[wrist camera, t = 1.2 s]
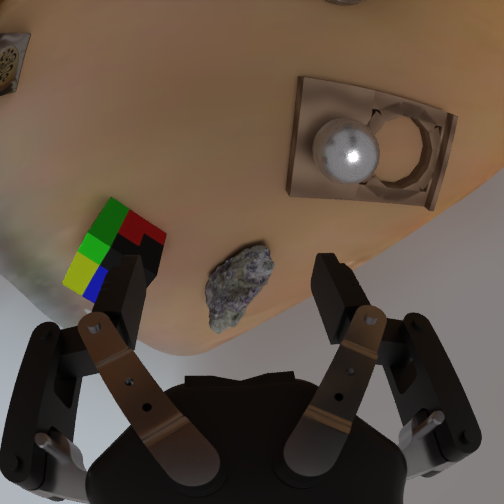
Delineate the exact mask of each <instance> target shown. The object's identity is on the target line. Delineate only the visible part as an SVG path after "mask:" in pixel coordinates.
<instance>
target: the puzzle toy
mask: <svg viewBox="0 0 504 504" xmlns="http://www.w3.org/2000/svg"><path fill="white" fill-rule="evenodd" d="M165 238H166V233H165V232H163V231H162V230H160V229H159V228H157V227H156V226H154V225H153V224H151V223H150V222H148V221H147V220H145V219H144V218H142V217H141V216H139V215H138V214H136V213H135V212H133V211H132V210H130V209H129V208H127V207H126V206H124V205H123V204H121V203H120V202H118V201H117V200H115V199H114V198H112V197H111V198H110V200H109V201H108V202H107V204H106V205H105V207H104V208H103V210H102V211H101V213H100V214H99V216H98V217H97V219H96V220H95V222H94V223H93V225H92V226H91V228H90V229H89V231H88V233H87V234H86V236H85V238H84V240H83V242H82V244H81V246H80V248H79V250H78V252H77V254H76V256H75V258H74V260H73V262H72V264H71V266H70V268H69V270H68V272H67V274H66V276H65V278H64V280H63V283H62V284H63V285H65V286H66V287H68V288H70V289H71V290H73V291H74V292H76V293H78V294H79V295H81V296H83V297H84V298H86V299H88V300H90V301H91V302H93V303H95V301H96V299H97V296H98V293H99V291H100V290H101V286H102V283H103V281H104V278H105V276H106V273H107V272H108V271H109V270H110V269H111V268H112V267H113V266H120V263H121V261H122V258H123V256H124V255H140V256H141V259H142V264H143V269H144V274H145V279H146V288H147V287H148V286H149V285H150V283H151V282H152V281H153V280H154V278H155V277H156V276H157V273H158V268H159V264H160V259H161V255H162V251H163V247H164V242H165Z"/></svg>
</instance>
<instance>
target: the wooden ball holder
mask: <svg viewBox="0 0 504 504" xmlns="http://www.w3.org/2000/svg"><path fill="white" fill-rule="evenodd" d="M401 115H403V116H407V117H410V118H411V119H412V120H413V121H414V123H415V124H416V125H417V126H418V127H419V128H420V132H421V136H422V141H423V149H422V154H421V158H420V162H419V164H418V165H417V166H416V168H415V169H414V170H413V171H412V173H411V174H410V175H409V176H408V177H406V178H403V179H401V180H399V181H397V182H395V183H393V182H384V181H379V180H378V179H377V178H376V177H375V176H374V173H372V175H371V176H370V177H368V178H367V179H366V180H364V181H362V182H360V183H357V184H353V185H343V184H338V183H335V182H333V181H331V180H329V179H328V178H326V177H325V176H324V175H323V174H322V173H321V172H320V170H319V169H318V167H317V166H316V164H315V161H314V158H313V151H312V149H313V141H314V138H315V136H316V134H317V132H318V131H319V130H320V128H321V127H322V126H323V125H325V124H326V123H328V122H329V121H332V120H334V119H338V118H351V119H355V120H357V121H360V122H361V123H363V124H365V125H366V126H367V127H368V128H369V129H370V130H371V131H372V132H373V133H374V135H375V134H376V133H377V132H378V131H379V129H380V128H381V127H382V125H383V124H384V123H385V122H386V121H389V120H391V119H394V118H396V117H399V116H401ZM457 119H458V116H456V115H453V114H450V113H448V112H445V111H442V110H439V109H436V108H433V107H430V106H427V105H424V104H421V103H418V102H415V101H412V100H408V99H405V98H401V97H398V96H394V95H391V94H387V93H383V92H379V91H375V90H371V89H366V88H362V87H357V86H352V85H348V84H342V83H337V82H332V81H326V80H320V79H313V78H306V77H299V78H298V87H297V97H296V107H295V116H294V125H293V134H292V143H291V151H290V160H289V168H288V176H287V184H286V191H287V193H288V195H289V197H300V198H322V199H340V200H355V201H369V202H382V203H394V204H405V205H415V206H424V207H425V208H427V209H428V210H429V211H434V208H435V205H436V202H437V198H438V195H439V192H440V189H441V185H442V182H443V178H444V175H445V171H446V167H447V163H448V160H449V156H450V151H451V147H452V143H453V139H454V134H455V129H456V124H457Z"/></svg>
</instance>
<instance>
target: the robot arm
mask: <svg viewBox="0 0 504 504" xmlns="http://www.w3.org/2000/svg"><path fill="white" fill-rule="evenodd" d="M326 1H328V2H331V3H334V4H338V5H352V4H356V3H359V2H362V1H365V0H326ZM311 291H312V294H313V296H314V299H315V302H316V305H317V307H318V310H319V313H320V316H321V318H322V321H323V324H324V327H325V330H326V332H327V335H328V338H329V341H330V343H331V345H332V344H340V346H339V349H338V350H337V352H336V354H335V356H334V359H333V361H332V363H331V364H330V366H329V369H328V370H327V372H326V374H325V376H324V378H323V380H322V382H321V384H320V386H319V387H318V386H317V385H315V384H313V383H311V382H307V381H305V380H301V379H295V376H294V372H293V371H288V372H277V373H267V374H263V375H260V376H256V377H253V378H249V379H246V380H242V381H238V380H232V379H226V378H221V377H216V376H185V383H184V384H180V385H177V386H174V387H172V388H170V389H168V390H166V391H164V392H163V390H162V389H161V388H160V387H159V385H158V384H157V383H156V381H155V380H154V379H153V377H152V376H151V375H150V373H149V372H148V371H147V369H146V368H145V366H144V365H143V364H142V362H141V361H140V360H139V358H138V357H137V355H136V354H135V352H134V351H133V350H135V345H136V340H137V335H138V329H139V325H140V320H141V315H142V310H143V306H144V301H145V297H146V279H145V274H144V269H143V264H142V259H141V256H140V255H124V256H123V258H122V261H121V263H120V266H113V267H112V268H111V269H110V270H109V271H108V272H107V273H106V276H105V278H104V281H103V283H102V286H101V290H100V291H99V293H98V296H97V299H96V301H95V304H94V307H93V309H92V312H91V313H89V314H87V315H85V316H84V317H83V318H82V319H81V320H80V321H79V323H78V326H75V327H71V328H66V329H62V330H60V328H59V326H58V325H57V324H56V323H54V322H44V323H42V324H40V325H39V326H37V327H36V328H35V329H34V331H33V332H32V335H31V337H30V340H29V343H28V346H27V349H26V352H25V354H24V358H23V361H22V363H21V366H20V370H19V373H18V376H17V380H16V383H15V386H14V390H13V393H12V397H11V401H10V405H9V409H8V413H7V418H6V422H5V427H4V432H3V437H2V443H1V448H0V470H1V472H2V474H3V475H4V477H5V478H7V479H8V480H9V481H11V482H13V483H15V484H17V485H19V486H20V487H22V488H23V489H25V490H27V491H29V492H32V493H34V494H36V495H38V496H41V497H44V498H48V499H50V500H53V501H63V500H64V499H67V500H72V501H76V502H81V503H87V504H403V492H404V486H405V482H406V480H409V479H412V478H414V477H417V476H420V475H421V476H423V477H432V476H434V475H436V474H438V473H440V472H441V471H443V470H445V469H447V468H449V467H450V466H452V465H453V464H455V463H457V462H459V461H460V460H462V459H464V458H465V457H466V456H468V455H470V454H471V453H473V452H474V451H476V450H477V449H478V448H479V446H480V444H481V440H482V435H481V431H480V428H479V425H478V423H477V420H476V418H475V415H474V413H473V410H472V408H471V406H470V403H469V401H468V399H467V396H466V394H465V392H464V389H463V387H462V385H461V383H460V381H459V378H458V376H457V374H456V372H455V370H454V368H453V366H452V364H451V362H450V360H449V358H448V356H447V354H446V352H445V350H444V348H443V346H442V344H441V342H440V340H439V338H438V336H437V334H436V332H435V331H434V329H433V327H432V325H431V323H430V322H429V320H428V319H427V318H426V317H425V316H423V315H421V314H419V313H409V314H407V315H406V316H405V317H404V319H403V321H402V320H396V319H389V318H386V315H385V314H384V312H383V311H382V310H380V309H379V308H377V307H375V306H372V305H371V304H370V302H369V301H368V299H367V297H366V295H365V293H364V291H363V289H362V288H361V286H360V285H359V282H358V280H357V279H356V277H355V275H354V273H353V271H352V270H351V269H350V268H349V267H348V266H347V265H345V264H344V263H339V261H338V259H337V257H336V256H335V254H334V253H318V254H317V256H316V259H315V264H314V268H313V273H312V277H311ZM375 364H377V365H383V368H384V371H385V374H386V376H387V379H388V382H389V385H390V388H391V391H392V394H393V397H394V400H395V403H396V406H397V409H398V412H399V415H400V418H401V421H402V424H403V428H402V429H401V431H400V433H399V445H398V446H399V447H398V446H397V445H396V444H395V443H393V442H392V441H391V440H389V439H388V438H387V437H385V436H384V435H382V434H381V433H380V432H378V431H377V430H376V429H374V428H373V427H371V426H370V425H368V424H367V423H366V422H365V421H363V420H362V419H360V418H359V417H358V416H357V415H356V413H357V411H358V408H359V406H360V403H361V401H362V398H363V396H364V393H365V391H366V388H367V386H368V383H369V380H370V378H371V375H372V372H373V369H374V367H375ZM97 373H100V375H101V377H102V379H103V381H104V382H105V384H106V386H107V387H108V389H109V391H110V393H111V394H112V396H113V398H114V399H115V401H116V402H117V404H118V406H119V407H120V409H121V410H122V412H123V414H124V415H125V417H126V418H127V419H128V421H129V423H130V424H131V425H130V426H129V427H128V428H127V429H126V430H125V431H124V432H123V433H122V434H121V435H120V436H119V437H118V438H117V439H116V440H115V441H114V442H113V443H112V444H111V446H110V447H108V448H107V449H106V450H105V451H104V452H103V453H102V454H101V455H100V457H98V458H97V459H96V460H95V461H94V462H93V463H92V465H91V466H90V468H89V470H88V472H87V471H86V469H85V467H84V464H83V457H82V454H81V451H80V450H79V448H78V447H77V446H75V445H74V444H73V436H74V428H75V420H76V413H77V407H78V400H79V394H80V388H81V382H82V377H83V376H88V375H92V374H97Z"/></svg>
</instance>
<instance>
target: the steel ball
mask: <svg viewBox="0 0 504 504" xmlns="http://www.w3.org/2000/svg"><path fill="white" fill-rule="evenodd" d="M312 151H313V158H314V161H315V164H316V166H317V167H318V169H319V170H320V172H321V173H322V174H323V175H324V176H325V177H326V178H328V179H329V180H331V181H333V182H335V183H338V184H343V185H353V184H357V183H360V182H362V181H364V180H366V179H367V178H368V177H370V176H371V175H372V173H373V172H374V171H375V169H376V167H377V165H378V162H379V157H380V150H379V144H378V141H377V139H376V137H375V135H374V133H373V132H372V131H371V130H370V129H369V128H368V127H367V126H366V125H365V124H363V123H361V122H360V121H357V120H355V119H351V118H338V119H334V120H332V121H329V122H328V123H326V124H325V125H323V126H322V127H321V128H320V130H319V131H318V132H317V134H316V136H315V138H314V141H313V149H312Z"/></svg>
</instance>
